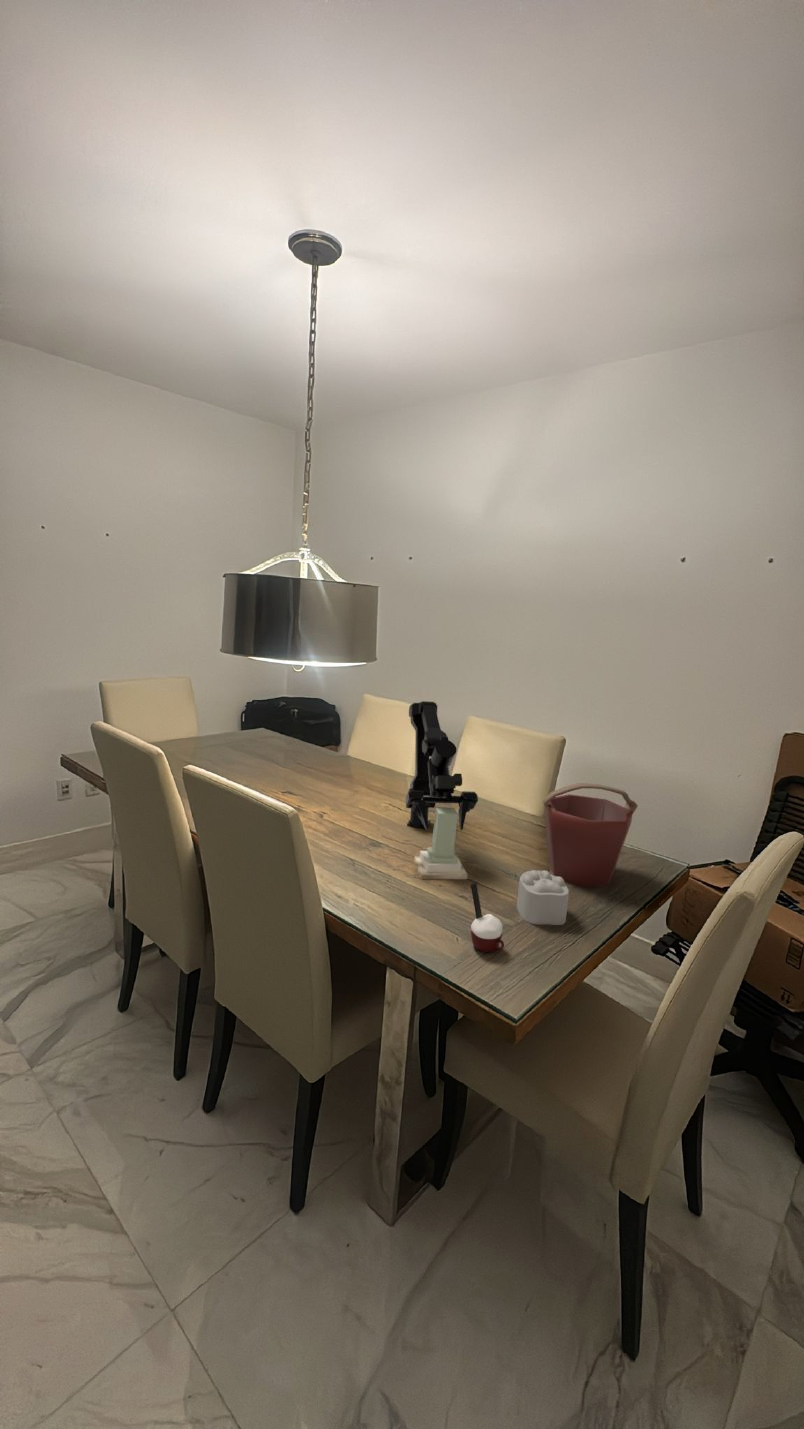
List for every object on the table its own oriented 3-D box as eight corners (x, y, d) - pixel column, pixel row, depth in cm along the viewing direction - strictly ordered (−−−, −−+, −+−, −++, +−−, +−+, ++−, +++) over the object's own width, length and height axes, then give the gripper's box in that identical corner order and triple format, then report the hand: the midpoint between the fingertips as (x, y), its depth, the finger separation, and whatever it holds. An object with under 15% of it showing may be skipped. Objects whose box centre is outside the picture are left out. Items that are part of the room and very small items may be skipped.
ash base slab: (413, 862, 165) (414, 855, 165) (456, 862, 167) (457, 855, 167) (421, 882, 154) (421, 874, 153) (467, 882, 155) (467, 874, 155)
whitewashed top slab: (419, 857, 164) (420, 850, 163) (451, 857, 165) (452, 850, 165) (427, 872, 155) (427, 865, 155) (460, 871, 157) (461, 864, 156)
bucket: (625, 866, 170) (637, 781, 166) (633, 900, 149) (647, 804, 145) (537, 851, 177) (546, 769, 172) (532, 882, 156) (543, 789, 151)
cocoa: (507, 958, 121) (516, 904, 119) (478, 961, 119) (487, 906, 117) (486, 932, 130) (495, 881, 128) (460, 934, 128) (468, 882, 126)
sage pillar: (426, 851, 163) (431, 805, 160) (452, 852, 164) (457, 806, 161) (430, 862, 156) (435, 814, 154) (457, 863, 157) (462, 816, 154)
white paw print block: (524, 924, 135) (528, 888, 133) (511, 896, 147) (514, 863, 146) (570, 925, 135) (574, 889, 134) (552, 898, 148) (556, 865, 147)
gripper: (410, 760, 158) (414, 815, 149) (479, 762, 161) (487, 816, 152) (404, 781, 167) (407, 833, 158) (469, 782, 170) (476, 834, 161)
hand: (444, 829), depth 157 cm, fingers open, 9 cm apart
